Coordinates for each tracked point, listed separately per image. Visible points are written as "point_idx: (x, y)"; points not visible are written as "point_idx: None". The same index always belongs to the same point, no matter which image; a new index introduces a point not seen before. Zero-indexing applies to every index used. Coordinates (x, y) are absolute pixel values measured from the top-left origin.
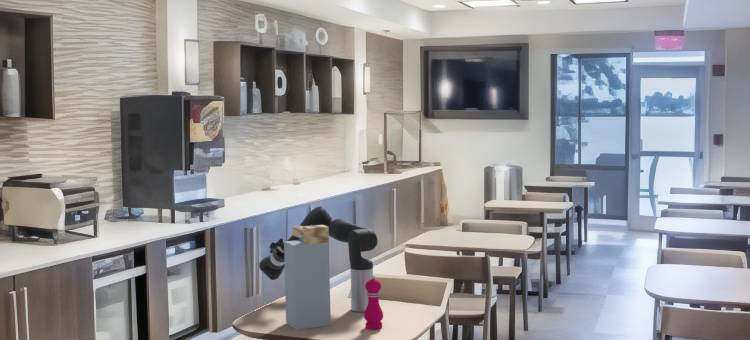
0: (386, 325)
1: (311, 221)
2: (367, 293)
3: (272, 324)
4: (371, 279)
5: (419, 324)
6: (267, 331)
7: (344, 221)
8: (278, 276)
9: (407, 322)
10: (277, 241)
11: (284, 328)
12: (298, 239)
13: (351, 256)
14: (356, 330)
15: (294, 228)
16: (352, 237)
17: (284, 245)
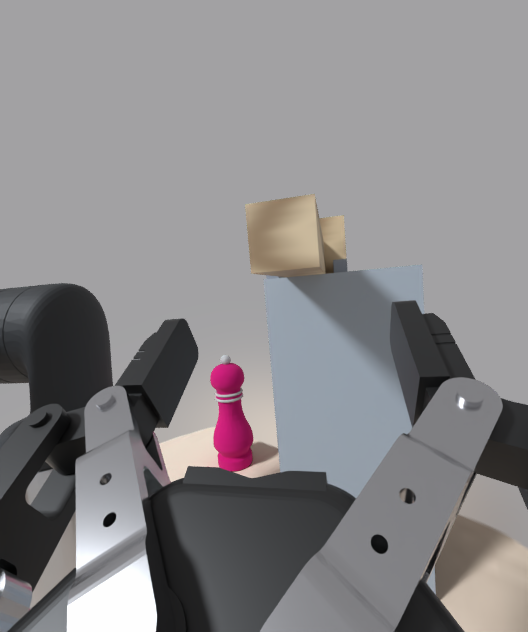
0: (207, 461)
1: None
2: (242, 390)
3: (505, 629)
4: (229, 363)
5: (165, 446)
6: (514, 551)
7: None
8: None
9: (164, 459)
10: (467, 385)
11: (446, 551)
12: (154, 369)
13: (92, 395)
14: (275, 462)
15: (317, 215)
16: (95, 309)
17: (421, 281)
